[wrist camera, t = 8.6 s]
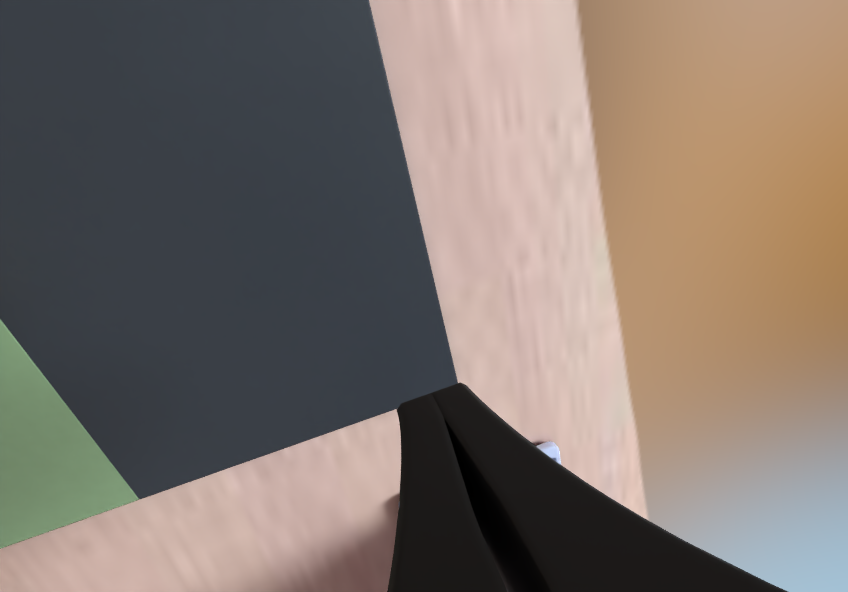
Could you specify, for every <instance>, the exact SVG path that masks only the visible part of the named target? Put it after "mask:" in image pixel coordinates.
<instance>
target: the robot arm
mask: <svg viewBox="0 0 848 592" xmlns="http://www.w3.org/2000/svg"><path fill="white" fill-rule="evenodd" d="M397 412H398V416H399V422H400V431H401V481H400V500H399V503H398V505H399V511H398V520H397V528H396V537H395V546H394V554H393V560H392V567H391V573H390V579H389V585H388V591H387V592H787V591H785V590H783V589H781V588H779V587H776V586H774V585H772V584H770V583H768V582H766V581H764V580H761V579H760V578H758V577H756V576H753V575H751V574H750V573H748V572H745V571H744V570H742V569H740V568H738V567H736V566H733V565H732V564H730V563H727V562H726V561H723V560H722V559H720V558H717V557H715V556H714V555H712V554H709V553H708V552H706V551H704V550H701V549H700V548H697V547H695V546H693V545H692V544H690V543H688V542H685V541H684V540H682V539H680V538H678V537H676V536H675V535H673V534H671V533H669V532H668V531H666V530H664V529H662V528H660V527H659V526H657V525H655V524H653V523H651V522H650V521H648V520H646V519H644V518H643V517H641V516H639V515H638V514H636V513H634V512H633V511H631V510H629V509H628V508H626V507H624V506H623V505H621V504H619V503H618V502H616V501H614V500H613V499H611V498H609V497H608V496H606V495H605V494H603V493H602V492H600V491H598V490H597V489H595V488H594V487H592V486H591V485H589V484H588V483H586V482H585V481H583V480H582V479H580V478H579V477H578V476H576V475H575V474H573V473H572V472H570V471H569V470H567V469H566V468H565V467H563V466H562V465H561V461H560V452H559V448H558V447H557V445H556V444H555V443H554V442H550V441H549V442H545V443H542V444H540V445H537V446H535V445H534V444H532V443H531V442H530V441H528V440H527V439H526V438H525V437H523V436H522V435H521V434H519V433H518V432H517V431H516V430H514V429H513V428H512V427H511V426H510V425H508V424H507V423H506V422H505V421H504V420H503V419H501V418H500V417H499V416H498V415H497V414H496V413H494V412H493V411H492V410H491V409H490V408H489V407H488V406H487V405H486V404H485V403H483V402H482V401H481V400H480V399H479V398H478V397H477V396H476V395H475V394H474V393H473V392H472V391H471V390H470V389H469V388H468V387H467V386H466V385H464V384H462V383H458V384H455V385H452V386H449V387H446V388H443V389H441V390H438V391H435V392H432V393H429V394H426V395H424V396H421V397H418V398H415V399H412V400H409V401H407V402H404V403H401V404H400V406H399V407H398V409H397Z"/></svg>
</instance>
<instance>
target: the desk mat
mask: <svg viewBox="0 0 848 592" xmlns="http://www.w3.org/2000/svg"><path fill="white" fill-rule="evenodd" d="M455 384H458V382H457V377H456V373H455V369H454V365H453V360H452V356H451V352H450V347H449V343H448V339H447V334H446V330H445V326H444V322H443V317H442V313H441V309H440V304H439V300H438V296H437V291H436V287H435V283H434V279H433V274H432V270H431V266H430V261H429V257H428V253H427V248H426V244H425V240H424V236H423V231H422V227H421V223H420V218H419V214H418V210H417V205H416V201H415V197H414V193H413V188H412V184H411V180H410V175H409V171H408V167H407V162H406V158H405V154H404V150H403V145H402V141H401V137H400V132H399V128H398V124H397V119H396V115H395V111H394V107H393V102H392V98H391V94H390V89H389V85H388V81H387V76H386V72H385V68H384V64H383V59H382V55H381V51H380V46H379V42H378V38H377V33H376V29H375V25H374V21H373V16H372V12H371V8H370V3H369V0H0V549H1V548H3V547H6V546H9V545H12V544H15V543H18V542H20V541H23V540H26V539H29V538H32V537H35V536H37V535H40V534H43V533H46V532H49V531H52V530H54V529H57V528H60V527H63V526H66V525H69V524H71V523H74V522H77V521H80V520H83V519H86V518H88V517H91V516H94V515H97V514H100V513H103V512H105V511H108V510H111V509H114V508H117V507H120V506H122V505H125V504H128V503H131V502H134V501H137V500H139V499H142V498H145V497H148V496H151V495H154V494H156V493H159V492H162V491H165V490H168V489H171V488H173V487H176V486H179V485H182V484H185V483H188V482H190V481H193V480H196V479H199V478H202V477H205V476H207V475H210V474H213V473H216V472H219V471H222V470H224V469H227V468H230V467H233V466H236V465H239V464H241V463H244V462H247V461H250V460H253V459H256V458H258V457H261V456H264V455H267V454H270V453H273V452H275V451H278V450H281V449H284V448H287V447H290V446H292V445H295V444H298V443H301V442H304V441H307V440H309V439H312V438H315V437H318V436H321V435H324V434H326V433H329V432H332V431H335V430H338V429H341V428H343V427H346V426H349V425H352V424H355V423H358V422H360V421H363V420H366V419H369V418H372V417H375V416H377V415H380V414H383V413H386V412H389V411H392V410H394V409H397V408H398V407H399V406H400V404H401V403H404V402H407V401H409V400H412V399H415V398H418V397H421V396H424V395H426V394H429V393H432V392H435V391H438V390H441V389H443V388H446V387H449V386H452V385H455Z"/></svg>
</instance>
